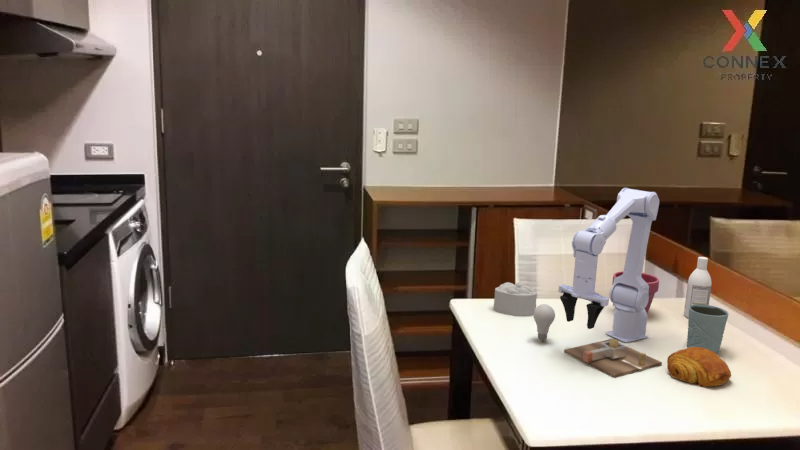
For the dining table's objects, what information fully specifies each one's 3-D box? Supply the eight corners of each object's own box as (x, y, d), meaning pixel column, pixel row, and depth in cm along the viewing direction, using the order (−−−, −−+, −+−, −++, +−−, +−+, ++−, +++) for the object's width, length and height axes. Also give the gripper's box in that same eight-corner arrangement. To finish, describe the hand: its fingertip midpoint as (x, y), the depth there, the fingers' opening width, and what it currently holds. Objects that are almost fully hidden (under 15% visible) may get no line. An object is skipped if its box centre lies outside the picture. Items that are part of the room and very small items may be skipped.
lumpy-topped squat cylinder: (502, 302, 225) (504, 278, 223) (539, 310, 219) (541, 285, 217) (490, 311, 216) (492, 285, 215) (529, 319, 210) (531, 293, 208)
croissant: (655, 376, 177) (655, 349, 175) (700, 361, 182) (700, 334, 180) (698, 399, 164) (698, 369, 162) (745, 382, 169) (745, 353, 167)
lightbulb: (553, 346, 189) (556, 309, 187) (531, 343, 190) (533, 307, 188) (552, 338, 195) (555, 302, 193) (531, 336, 196) (534, 300, 194)
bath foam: (711, 320, 215) (719, 260, 210) (692, 321, 213) (700, 260, 209) (697, 313, 221) (705, 254, 217) (679, 314, 220) (686, 255, 215)
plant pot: (617, 304, 228) (621, 267, 225) (660, 313, 220) (664, 276, 217) (603, 315, 216) (607, 277, 214) (647, 325, 208) (652, 286, 206)
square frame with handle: (611, 349, 185) (612, 340, 184) (626, 356, 181) (627, 346, 180) (578, 357, 179) (579, 347, 178) (592, 364, 174) (593, 354, 174)
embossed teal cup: (678, 349, 190) (683, 309, 187) (691, 340, 197) (696, 301, 195) (715, 360, 183) (721, 318, 181) (727, 350, 190) (733, 310, 188)
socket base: (610, 341, 194) (612, 324, 193) (663, 365, 178) (665, 347, 177) (562, 352, 185) (564, 334, 184) (614, 379, 169) (616, 359, 168)
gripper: (553, 271, 180) (549, 319, 183) (599, 285, 169) (594, 335, 172) (569, 267, 185) (564, 314, 187) (615, 280, 174) (610, 330, 177)
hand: (580, 324), depth 180 cm, fingers open, 6 cm apart
